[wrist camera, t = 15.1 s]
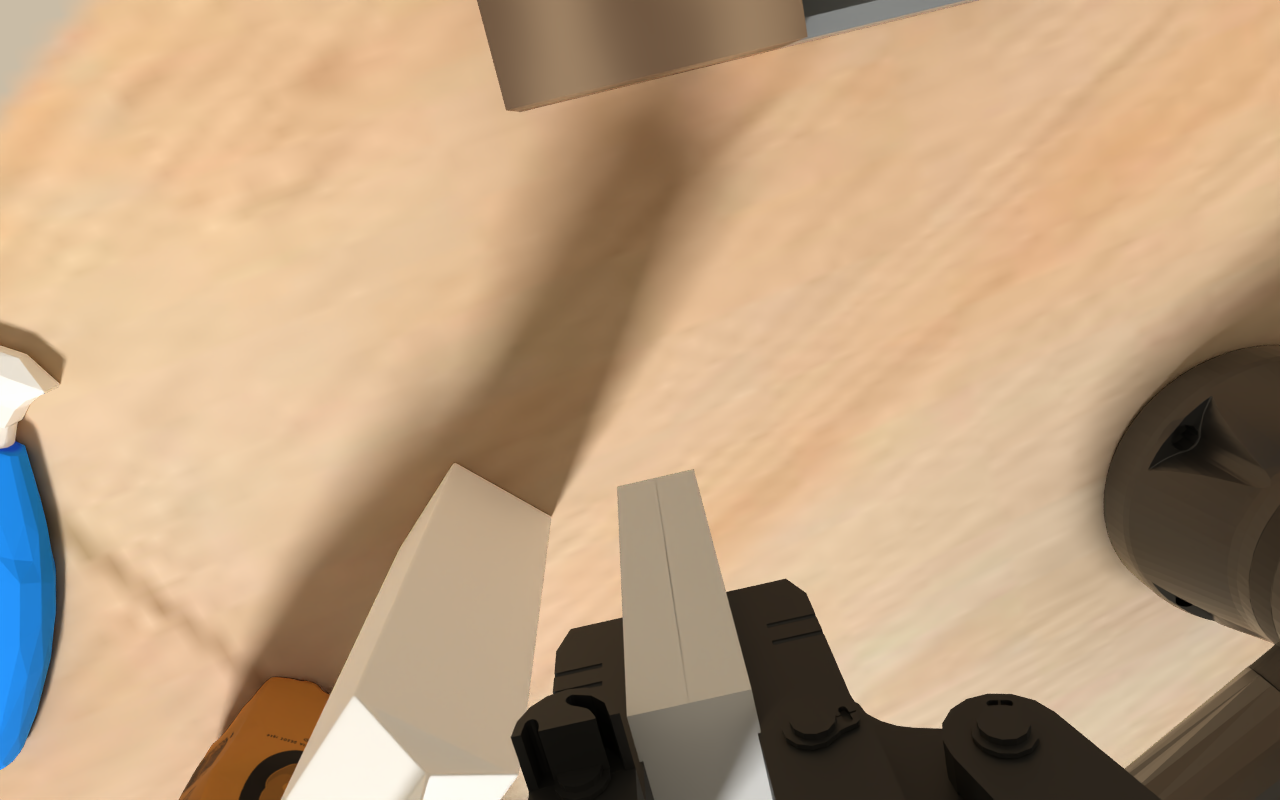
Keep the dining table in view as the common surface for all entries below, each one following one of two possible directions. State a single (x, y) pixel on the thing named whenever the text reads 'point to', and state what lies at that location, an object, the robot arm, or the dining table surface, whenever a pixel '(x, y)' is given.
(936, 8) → the box
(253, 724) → the coffee package
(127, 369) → the dining table surface
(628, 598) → the robot arm
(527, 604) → the milk
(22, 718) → the spray bottle
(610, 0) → the block
